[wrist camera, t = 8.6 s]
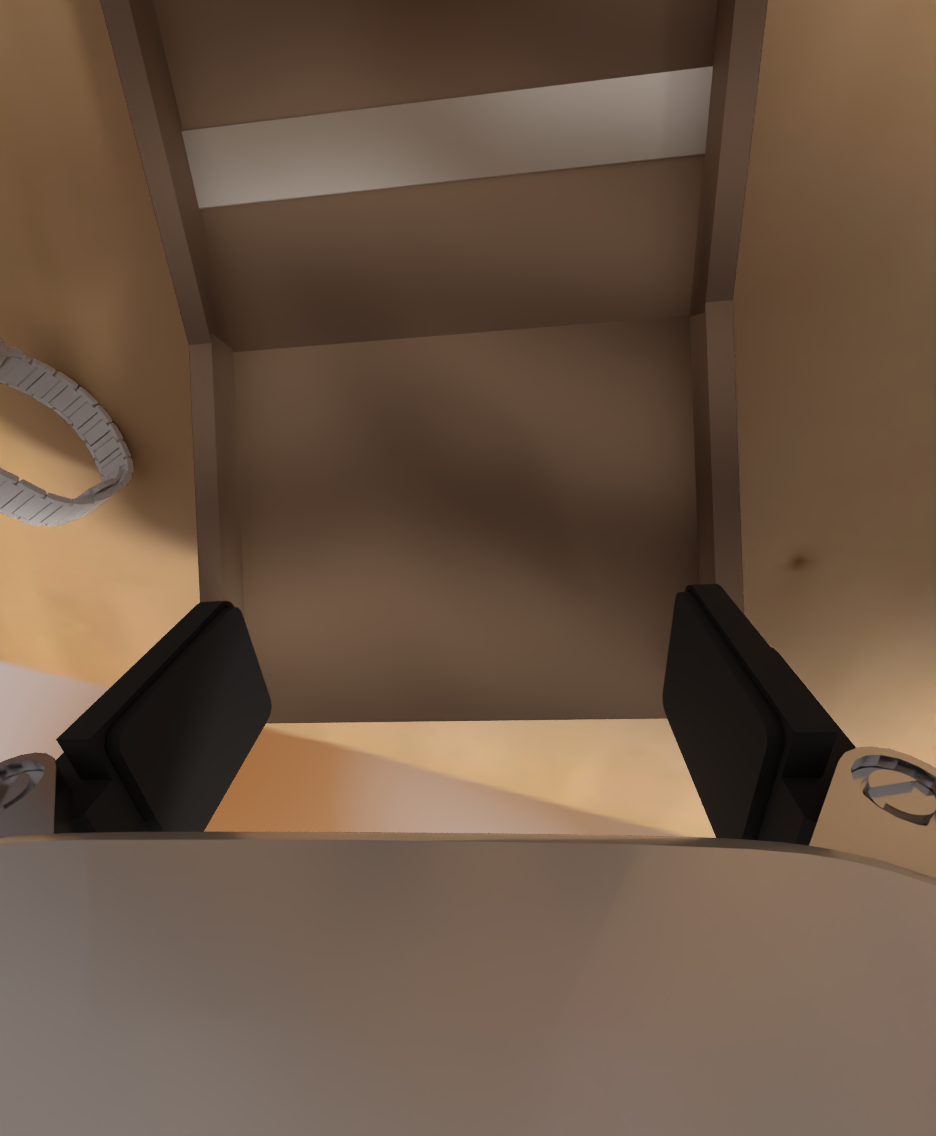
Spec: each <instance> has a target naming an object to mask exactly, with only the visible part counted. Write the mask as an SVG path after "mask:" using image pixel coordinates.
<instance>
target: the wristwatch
mask: <svg viewBox="0 0 936 1136" xmlns="http://www.w3.org/2000/svg"><path fill="white" fill-rule="evenodd" d="M0 383H2V384H6V383H7V384H8V386H9V387H11V388H13V389H15V390H18V391H20V392H22V393H24V394H26V395H31V394H32V397H33V398H34V399H36V400H38V401H39V402H41V403H42V404H44V405H46V406H47V407H49V408H50V409H53V408H54V407H55V409H54V411H55V412H56V413H57V414H58V415H59V416H60V417H61V418H63V419H64V420H65V421H66V422H67V423H68V424H69V425H72V424H74V425H73V426H72V428H73V429H74V431H75V432H76V433H77V434H78V435H79V437H80V438H81V439H82V440H83V441H84V442H87V443H86V444H85V445H86V447H87V448H88V450H89V452H90V453H91V455H92V457H93V458H94V459H97V460H95V461H94V462H95V464H96V466H97V468H98V470H99V473H100V475H101V476H103V477H101V480H102V483H100V484H98V485H96V486H94V487H92V488H90V489H88V490H87V491H85V492H84V493H83V494H81V495H80V496H79V497H77V498H75V499H72V500H71V499H69V498H65V497H61V496H58V495H55V494H51V493H48V494H47V495H46V491H45V490H43V489H41V488H39V487H37V486H35V485H33V484H31V483H29V482H27V481H25V480H24V479H23V480H20V481H19V477H18V476H16V475H14V474H11V473H9V472H7V471H5V470H3V469H2V468H0V513H2V514H5V515H7V516H9V517H12V518H16V519H17V518H18V517H19V518H18V519H19V521H22V522H25V523H28V524H33V525H38V526H44V525H46V526H58V525H64V524H66V523H67V522H71V521H75V520H77V519H79V518H82V517H84V516H86V515H87V514H88V513H90V512H91V511H93V510H94V509H96V508H97V507H98V506H100V505H101V504H102V503H104V502H105V501H106V500H108V499H109V498H110V497H112V496H113V495H114V494H116V493H117V492H118V491H120V490H121V489H122V488H123V487H124V486H126V485H127V484H128V483H129V481H130V480H131V479H132V473H133V472H134V466H133V460H132V459H131V458H130V457H131V454H130V452H129V449H128V447H127V445H126V443H125V442H124V441H122V440H123V436H122V434H121V433H120V431H119V429H118V428H117V426H116V425H115V424H114V423H112V422H113V421H112V418H111V417H110V416H109V414H108V413H107V412H106V411H105V410H104V408H103V407H102V406H101V405H97V404H98V402H97V400H96V399H95V398H94V397H93V396H92V395H91V394H89V393H88V392H87V391H86V390H85V389H84V388H83V387H79V388H77V387H78V384H77V383H76V382H75V381H73V380H72V379H70V378H69V377H68V376H66V375H65V374H63V373H61V372H59V371H57V372H56V370H55V369H54V368H53V367H51V366H49V365H47V364H45V363H43V362H41V361H39V360H37V359H35V358H33V359H32V360H31V357H29V356H28V355H26V354H25V353H24V352H23V351H22V350H21V349H20V348H18V347H15V346H12V345H8V344H6V343H5V342H4V340H3V339H2V338H0ZM60 392H61V393H60ZM59 393H60V394H59ZM79 396H80V397H79ZM78 397H79V398H78ZM77 398H78V399H77ZM52 399H53V400H52ZM51 400H52V401H51ZM72 402H73V403H72ZM71 403H72V404H71ZM70 404H71V405H70ZM96 405H97V406H96ZM65 408H66V409H65ZM64 409H65V410H64ZM18 481H19V482H18Z"/></svg>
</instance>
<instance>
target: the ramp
mask: <svg viewBox="0 0 936 1136" xmlns="http://www.w3.org/2000/svg"><path fill="white" fill-rule="evenodd" d="M100 1H101V5H102V9H103V13H104V17H105V21H106V25H107V29H108V32H109V36H110V40H111V44H112V48H113V52H114V56H115V60H116V64H117V67H118V71H119V75H120V79H121V83H122V87H123V91H124V95H125V99H126V102H127V106H128V110H129V114H130V118H131V122H132V126H133V130H134V134H135V137H136V141H137V145H138V149H139V153H140V157H141V161H142V165H143V168H144V172H145V176H146V180H147V184H148V188H149V192H150V196H151V200H152V203H153V207H154V211H155V215H156V219H157V223H158V227H159V231H160V235H161V238H162V242H163V246H164V250H165V254H166V258H167V262H168V266H169V270H170V273H171V277H172V281H173V285H174V289H175V293H176V297H177V301H178V305H179V308H180V312H181V316H182V320H183V324H184V328H185V332H186V336H187V340H188V343H189V358H190V381H191V404H192V427H193V450H194V473H195V496H196V519H197V542H198V565H199V588H200V602H208V601H229V602H231V603H232V604H233V605H234V607H238V608H239V609H240V610H241V612H242V614H243V617H244V620H245V623H246V626H247V629H248V632H249V635H250V638H251V641H252V644H253V647H254V650H255V653H256V656H257V659H258V662H259V665H260V668H261V671H262V674H263V678H264V681H265V684H266V687H267V690H268V693H269V696H270V699H271V703H272V708H271V714H270V717H269V719H268V720H267V722H266V723H330V722H411V721H491V720H572V719H653V718H667V716H666V714H665V711H664V707H663V700H662V695H663V686H664V679H665V671H666V664H667V656H668V649H669V641H670V634H671V626H672V619H673V611H674V603H675V597H676V594H677V593H678V592H684V591H685V588H686V586H688V585H693V584H719V585H720V586H721V587H722V588H723V589H724V590H725V592H726V593H727V594H728V595H729V597H730V598H731V599H732V600H733V602H734V603H735V604H736V605H737V606H738V608H739V609H740V610H741V611H742V613H743V614H744V603H743V575H742V548H741V520H740V492H739V464H738V437H737V409H736V381H735V354H734V326H733V292H734V284H735V275H736V266H737V258H738V249H739V241H740V232H741V224H742V215H743V207H744V198H745V190H746V181H747V173H748V164H749V155H750V147H751V138H752V130H753V121H754V113H755V104H756V96H757V87H758V79H759V70H760V61H761V53H762V44H763V36H764V27H765V19H766V10H767V2H768V0H100Z"/></svg>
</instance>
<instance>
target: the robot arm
mask: <svg viewBox="0 0 936 1136" xmlns="http://www.w3.org/2000/svg"><path fill="white" fill-rule="evenodd" d="M662 700H663V707H664V711H665V714H666V716H667V719H668V721H669V724H670V726H671V728H672V731H673V733H674V736H675V738H676V741H677V743H678V746H679V748H680V750H681V753H682V755H683V758H684V760H685V763H686V765H687V767H688V770H689V772H690V775H691V777H692V780H693V782H694V784H695V787H696V789H697V792H698V794H699V797H700V799H701V802H702V804H703V806H704V809H705V811H706V814H707V816H708V819H709V821H710V823H711V826H712V828H713V831H714V833H715V836H716V838H699V837H665V836H632V835H564V834H491V833H488V834H486V833H381V832H204V830H205V828H206V826H207V825H208V823H209V821H210V820H211V818H212V816H213V814H214V813H215V811H216V809H217V807H218V806H219V804H220V802H221V800H222V799H223V797H224V795H225V793H226V792H227V790H228V788H229V787H230V785H231V783H232V781H233V780H234V778H235V776H236V774H237V773H238V771H239V769H240V767H241V766H242V764H243V762H244V760H245V758H246V757H247V755H248V753H249V752H250V750H251V748H252V747H253V745H254V743H255V741H256V740H257V738H258V736H259V734H260V733H261V731H262V729H263V727H264V726H265V724H266V722H267V720H268V719H269V717H270V714H271V708H272V703H271V699H270V696H269V693H268V690H267V687H266V684H265V681H264V678H263V674H262V671H261V668H260V665H259V662H258V659H257V656H256V653H255V650H254V647H253V644H252V641H251V638H250V635H249V632H248V629H247V626H246V623H245V620H244V617H243V614H242V612H241V610H240V609H239V608H238V607H234V605H233V604H232V603H231V602H229V601H208V602H200V603H199V604H197V605H196V606H195V607H194V608H193V609H192V610H191V611H190V612H189V613H188V614H187V615H186V616H185V617H184V618H183V619H182V620H181V621H179V622H178V623H177V624H176V625H175V626H174V627H173V628H172V629H171V630H170V631H169V632H168V633H167V634H166V635H165V636H164V637H163V638H162V639H161V640H160V641H159V642H158V643H156V644H155V645H154V646H153V647H152V648H151V649H150V650H149V651H148V652H147V653H146V654H145V655H144V656H143V657H142V658H141V659H140V660H139V661H138V662H137V663H136V664H135V665H134V666H132V667H131V668H130V669H129V670H128V671H127V672H126V673H125V674H124V675H123V676H122V677H121V678H120V679H119V680H118V681H117V682H116V683H115V684H114V685H113V686H112V687H111V688H109V689H108V691H106V692H105V693H104V694H103V695H102V696H101V697H100V698H99V699H98V700H97V701H96V702H95V703H94V704H93V705H92V706H91V707H90V708H89V709H88V710H86V712H84V714H82V715H81V716H80V717H79V718H78V719H77V720H76V721H75V722H74V723H73V724H72V725H71V726H70V727H69V728H68V729H67V730H66V731H65V732H64V733H63V734H61V735H60V736H59V737H58V738H57V739H56V740H57V741H58V743H59V745H60V746H61V748H62V750H63V751H64V753H63V754H62V755H61V756H60V757H59V758H58V759H57V760H56V761H55V759H54V758H53V757H52V756H50V755H48V754H46V753H31V754H25V755H20V756H17V757H14V758H11V759H8V760H5V761H3V762H1V763H0V1136H936V768H934V767H933V766H931V765H929V764H927V763H925V762H923V761H921V760H919V759H917V758H914V757H912V756H910V755H907V754H904V753H901V752H897V751H894V750H891V749H885V748H878V747H860V748H856V747H855V746H854V745H853V744H852V742H851V741H850V740H849V739H848V737H847V736H846V735H845V734H844V733H843V731H842V730H841V729H840V728H839V726H838V725H837V724H836V723H835V722H834V720H833V719H832V718H831V717H830V715H829V714H828V713H827V712H826V711H825V709H824V708H823V707H822V706H821V704H820V703H819V702H818V701H817V700H816V698H815V697H814V696H813V695H812V693H811V692H810V691H809V690H808V689H807V687H806V686H805V685H804V684H803V682H802V681H801V680H800V679H799V677H798V676H797V675H796V674H795V673H794V671H793V670H792V669H791V668H790V666H789V665H788V664H787V663H786V662H785V660H784V659H783V658H782V657H781V655H780V654H779V653H778V652H777V651H776V650H775V649H773V648H771V647H770V646H769V645H768V644H767V642H766V641H765V640H764V639H763V637H762V636H761V635H760V634H759V632H758V631H757V630H756V629H755V628H754V626H753V625H752V624H751V623H750V621H749V620H748V619H747V618H746V616H745V615H744V614H743V613H742V611H741V610H740V609H739V608H738V606H737V605H736V604H735V603H734V602H733V600H732V599H731V598H730V597H729V595H728V594H727V593H726V592H725V590H724V589H723V588H722V587H721V586H720V585H719V584H693V585H688V586H686V588H685V591H684V592H678V593H677V594H676V597H675V603H674V611H673V619H672V626H671V634H670V641H669V649H668V656H667V664H666V671H665V679H664V686H663V695H662Z"/></svg>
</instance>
